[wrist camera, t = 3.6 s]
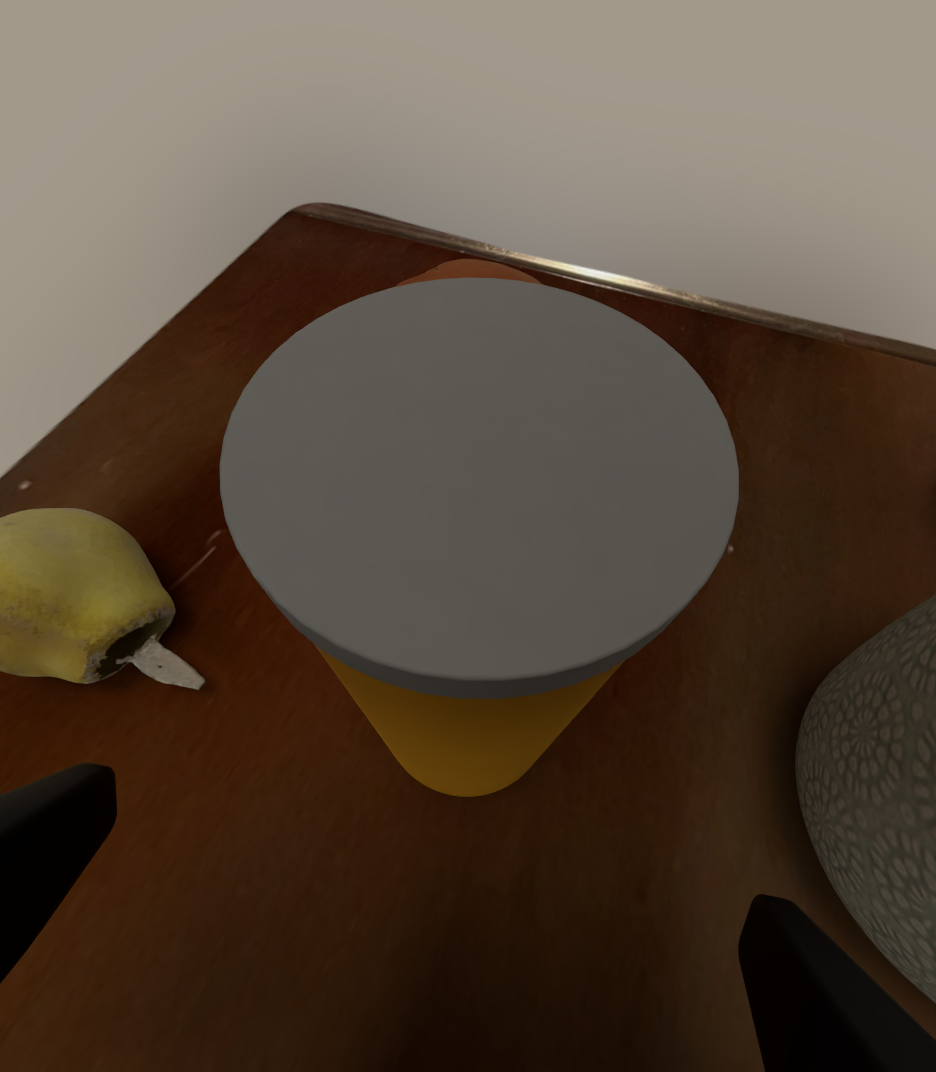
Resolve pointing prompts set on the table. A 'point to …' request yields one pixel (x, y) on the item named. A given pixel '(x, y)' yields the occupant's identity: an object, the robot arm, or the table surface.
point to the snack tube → (477, 509)
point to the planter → (879, 789)
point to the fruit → (81, 601)
